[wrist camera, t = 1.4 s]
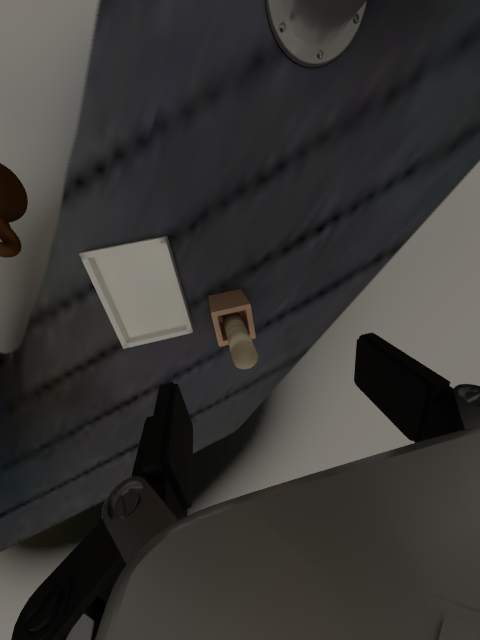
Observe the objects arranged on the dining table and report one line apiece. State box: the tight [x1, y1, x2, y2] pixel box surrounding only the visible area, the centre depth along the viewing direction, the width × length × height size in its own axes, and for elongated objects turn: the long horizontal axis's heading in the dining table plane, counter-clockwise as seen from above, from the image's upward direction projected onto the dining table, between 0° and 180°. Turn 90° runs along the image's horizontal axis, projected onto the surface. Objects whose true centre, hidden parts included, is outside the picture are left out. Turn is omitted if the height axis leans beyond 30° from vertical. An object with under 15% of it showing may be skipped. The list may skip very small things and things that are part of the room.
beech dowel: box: [222, 312, 258, 369], centre depth 34 cm, size 3×3×16 cm
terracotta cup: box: [208, 289, 256, 347], centre depth 38 cm, size 6×6×8 cm
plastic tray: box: [79, 236, 193, 349], centre depth 37 cm, size 16×12×3 cm
